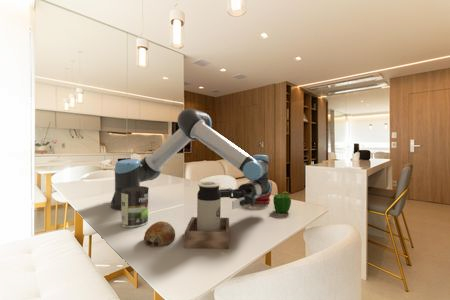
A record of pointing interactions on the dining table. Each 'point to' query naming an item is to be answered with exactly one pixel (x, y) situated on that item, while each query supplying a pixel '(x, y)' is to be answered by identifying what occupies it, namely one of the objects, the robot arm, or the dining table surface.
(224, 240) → the walnut crate
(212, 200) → the travel mug
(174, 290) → the dining table surface
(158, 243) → the bread roll
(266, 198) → the plant pot
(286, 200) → the bell pepper
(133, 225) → the coffee can
